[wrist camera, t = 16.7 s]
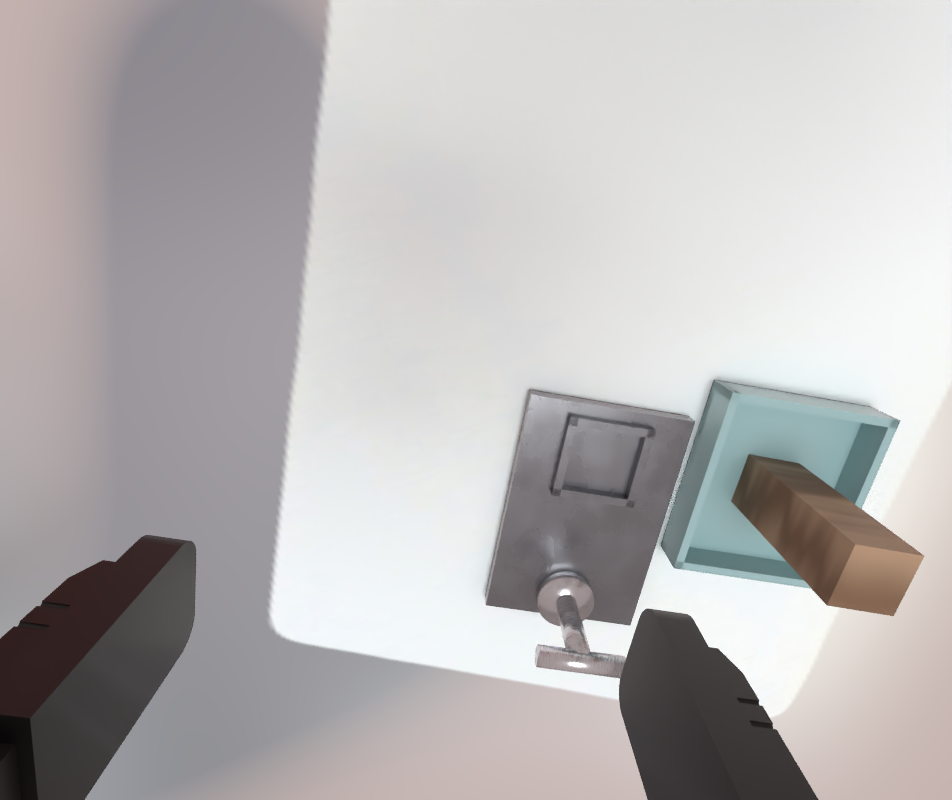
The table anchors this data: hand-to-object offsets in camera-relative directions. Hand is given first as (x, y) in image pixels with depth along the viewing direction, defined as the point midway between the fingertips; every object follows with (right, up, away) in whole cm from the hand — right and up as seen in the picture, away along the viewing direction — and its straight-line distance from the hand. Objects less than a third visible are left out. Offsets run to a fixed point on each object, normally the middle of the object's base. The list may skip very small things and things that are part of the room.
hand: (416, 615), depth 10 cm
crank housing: (+9, -5, +33) cm, 35 cm away
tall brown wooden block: (+23, -2, +32) cm, 39 cm away
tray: (+23, -2, +33) cm, 40 cm away
